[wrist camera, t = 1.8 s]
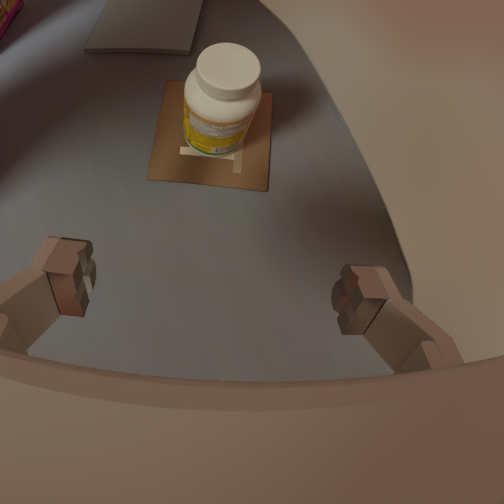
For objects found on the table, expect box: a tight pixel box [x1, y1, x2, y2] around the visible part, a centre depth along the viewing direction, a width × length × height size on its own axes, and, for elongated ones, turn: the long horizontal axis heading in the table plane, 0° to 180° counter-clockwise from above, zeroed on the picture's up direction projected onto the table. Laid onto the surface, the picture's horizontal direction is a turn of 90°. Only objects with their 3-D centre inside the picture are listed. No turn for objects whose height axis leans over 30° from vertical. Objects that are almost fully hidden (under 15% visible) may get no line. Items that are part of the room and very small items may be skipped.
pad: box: [85, 0, 204, 55], centre depth 26 cm, size 11×11×1 cm
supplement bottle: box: [183, 43, 261, 157], centre depth 22 cm, size 5×5×10 cm
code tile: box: [148, 80, 273, 192], centre depth 27 cm, size 10×10×1 cm
